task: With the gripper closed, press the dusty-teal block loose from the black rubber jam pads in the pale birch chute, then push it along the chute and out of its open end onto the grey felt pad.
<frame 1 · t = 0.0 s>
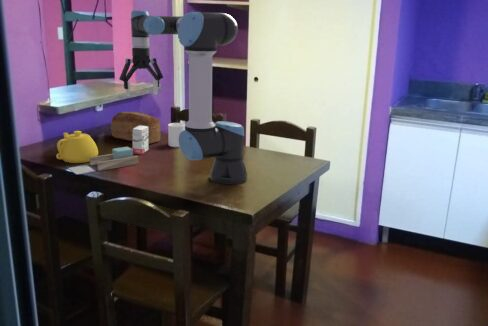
hand: (142, 95, 223), 28 cm above the table, fingers open, 13 cm apart
block: (122, 155, 216), point 3 cm above the table, slide at 0.0 cm
ink box: (141, 152, 236), on the table
mug: (178, 145, 251), on the table
teapot: (75, 159, 222), on the table
chute: (114, 164, 215), on the table
pad: (81, 169, 206), on the table
bread: (136, 140, 257), on the table
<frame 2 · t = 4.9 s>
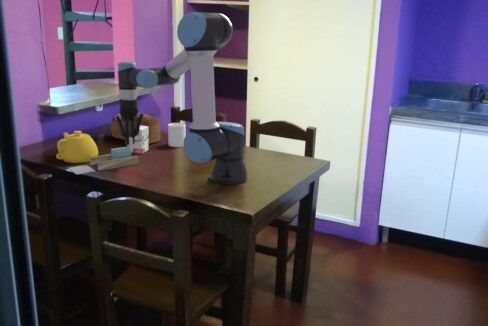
hand: (130, 151, 218), 5 cm above the table, fingers closed
block: (121, 155, 216), point 3 cm above the table, slide at 0.6 cm, touching gripper
everything else where it was.
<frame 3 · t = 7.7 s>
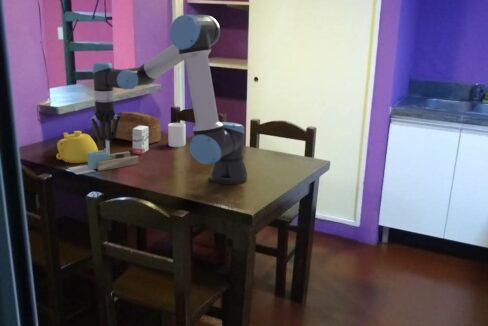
hand: (107, 154, 212), 5 cm above the table, fingers closed
block: (97, 159, 210), point 3 cm above the table, slide at 11.3 cm, touching gripper
everything else where it was.
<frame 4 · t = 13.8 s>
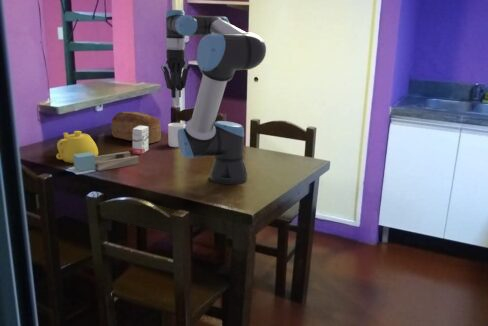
hand: (176, 105, 210), 26 cm above the table, fingers closed
block: (84, 161, 206), point 3 cm above the table, slide at 17.2 cm
everything else where it was.
at the end: block slide at 17.2 cm; block inside the target area (0.8 cm from its centre), resting on pad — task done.
